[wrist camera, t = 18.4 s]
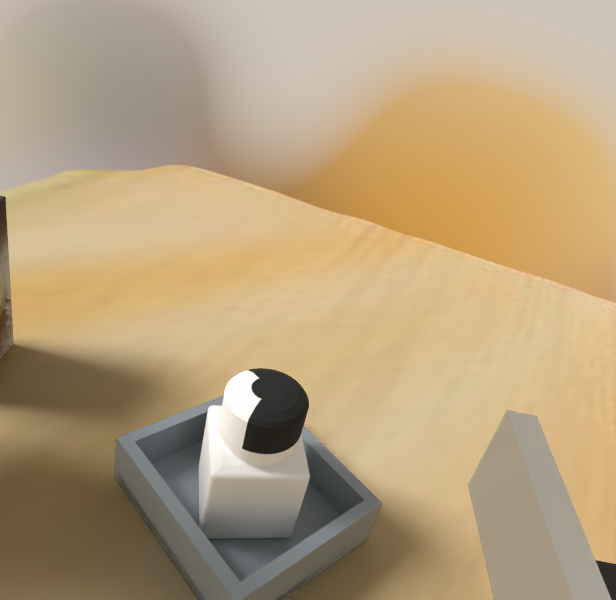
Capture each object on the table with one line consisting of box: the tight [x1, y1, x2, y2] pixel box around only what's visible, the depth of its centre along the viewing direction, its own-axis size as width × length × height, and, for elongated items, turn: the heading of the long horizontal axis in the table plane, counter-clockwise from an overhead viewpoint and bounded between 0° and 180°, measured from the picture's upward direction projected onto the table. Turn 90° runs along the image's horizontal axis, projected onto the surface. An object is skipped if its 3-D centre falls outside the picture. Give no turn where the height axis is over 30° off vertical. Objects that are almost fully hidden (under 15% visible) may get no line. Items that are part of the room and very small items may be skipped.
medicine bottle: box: [199, 368, 310, 539], centre depth 44 cm, size 7×7×12 cm
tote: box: [114, 396, 382, 600], centre depth 47 cm, size 16×14×4 cm
